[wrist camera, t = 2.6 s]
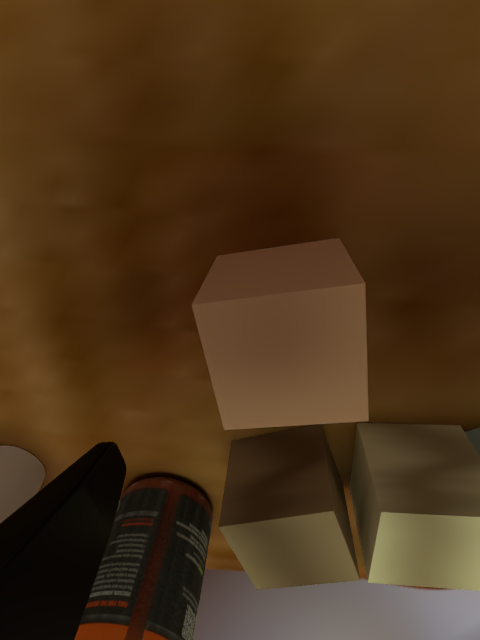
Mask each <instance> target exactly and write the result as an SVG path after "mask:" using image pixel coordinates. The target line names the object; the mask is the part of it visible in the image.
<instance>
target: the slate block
mask: <svg viewBox="0 0 480 640" xmlns="http://www.w3.org/2000/svg"><path fill="white" fill-rule="evenodd" d="M465 433H466V435H467V437H468V438H469V440H470V441H471V443H472V445H473V446H474V448H475V449H476V451H477V453H478V454H479V456H480V428H477V429H473V430H470V431H466V432H465Z"/></svg>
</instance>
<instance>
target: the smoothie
mask: <svg viewBox="0 0 480 640" xmlns="http://www.w3.org/2000/svg"><path fill="white" fill-rule="evenodd" d="M45 476H46V472H45V469H44V466H43V465H42V463H41V462H40V461H39V460H38V459H37V458H36V457H35V456H34V455H32V454H31V453H29V452H28V451H26V450H23V449H21V448H18V447H14V446H7V445H5V446H0V523H1V522H3V521H4V520H5V519H6V518H7V517H9V516H10V515H11V514H12V513H14V512H15V511H16V510H17V509H18V508H20V507H21V506H22V505H23V504H25V503H26V502H27V501H28V500H29V499H31V498H32V497H33V496H34V495H36V494H37V493H38V491H39V489H40V487H41V485H42V483H43V481H44V479H45Z"/></svg>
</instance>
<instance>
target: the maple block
mask: <svg viewBox="0 0 480 640" xmlns="http://www.w3.org/2000/svg"><path fill="white" fill-rule="evenodd" d="M349 489H350V495H351V500H352V505H353V510H354V515H355V520H356V525H357V530H358V535H359V540H360V545H361V550H362V555H363V560H364V565H365V570H366V576H367V581H368V583H382V584H395V585H409V586H423V587H436V588H450V589H464V590H477V591H480V456H479V454H478V453H477V451H476V449H475V448H474V446H473V445H472V443H471V441H470V440H469V438H468V437H467V435H466V433H465V432H464V430H463V429H462V427H461V425H427V424H386V423H357V429H356V437H355V445H354V454H353V462H352V470H351V478H350V487H349Z"/></svg>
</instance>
